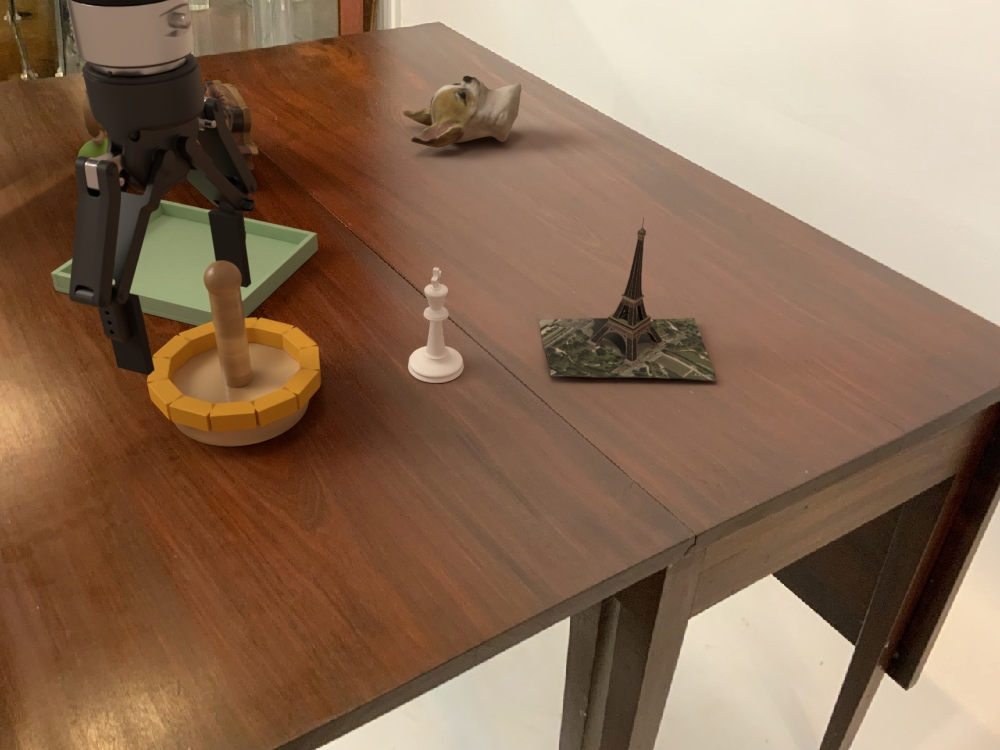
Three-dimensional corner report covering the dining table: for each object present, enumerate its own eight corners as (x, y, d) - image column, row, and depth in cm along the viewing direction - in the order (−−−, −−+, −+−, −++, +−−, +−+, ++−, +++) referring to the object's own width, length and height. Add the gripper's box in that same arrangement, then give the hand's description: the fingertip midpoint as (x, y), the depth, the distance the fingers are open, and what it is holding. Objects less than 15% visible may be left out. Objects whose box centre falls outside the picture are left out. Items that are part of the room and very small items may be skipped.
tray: (55, 290, 94) (50, 272, 93) (162, 215, 107) (159, 198, 106) (229, 334, 89) (226, 315, 88) (318, 249, 102) (317, 232, 101)
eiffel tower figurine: (547, 383, 85) (559, 248, 77) (538, 319, 93) (548, 192, 85) (716, 384, 86) (745, 251, 78) (693, 321, 94) (716, 195, 86)
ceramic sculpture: (529, 86, 119) (407, 96, 117) (529, 152, 124) (413, 163, 122) (513, 58, 127) (399, 67, 125) (513, 121, 132) (404, 131, 130)
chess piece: (469, 355, 88) (471, 258, 82) (456, 387, 84) (457, 288, 78) (416, 347, 89) (415, 250, 83) (401, 378, 85) (398, 279, 79)
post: (142, 426, 78) (109, 283, 70) (219, 352, 87) (198, 217, 79) (265, 461, 75) (245, 316, 67) (332, 381, 84) (322, 244, 76)
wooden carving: (179, 148, 121) (166, 69, 115) (213, 140, 124) (202, 62, 118) (239, 198, 111) (228, 113, 105) (275, 188, 113) (267, 105, 108)
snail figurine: (132, 168, 116) (112, 69, 109) (133, 192, 111) (112, 89, 104) (83, 173, 115) (60, 72, 107) (82, 196, 110) (58, 93, 103)
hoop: (116, 406, 76) (112, 390, 75) (212, 320, 86) (209, 304, 85) (267, 448, 73) (265, 432, 72) (348, 353, 83) (347, 338, 82)
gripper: (59, 131, 55) (131, 425, 67) (283, 15, 74) (306, 260, 86) (-48, 111, 57) (41, 400, 69) (197, 3, 76) (232, 245, 88)
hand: (189, 323), depth 78 cm, fingers open, 13 cm apart
